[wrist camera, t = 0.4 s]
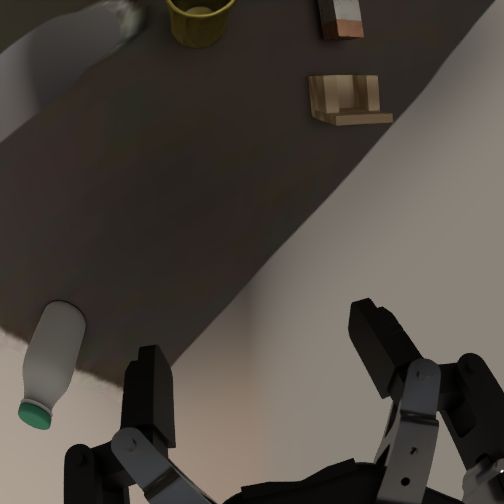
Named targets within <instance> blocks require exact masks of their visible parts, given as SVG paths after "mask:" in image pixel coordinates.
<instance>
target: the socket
mask: <svg viewBox="0 0 504 504" xmlns="http://www.w3.org/2000/svg"><path fill="white" fill-rule="evenodd" d="M308 84H309V93H310V102H311V112H312V117H313V118H316V119H319V120H322V121H325V122H327V123H330V124H333V125H336V126H339V125H351V124H367V123H387V122H393V118H392V113H388V112H384V111H380V107H379V90H378V76H370V75H324V76H308Z"/></svg>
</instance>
